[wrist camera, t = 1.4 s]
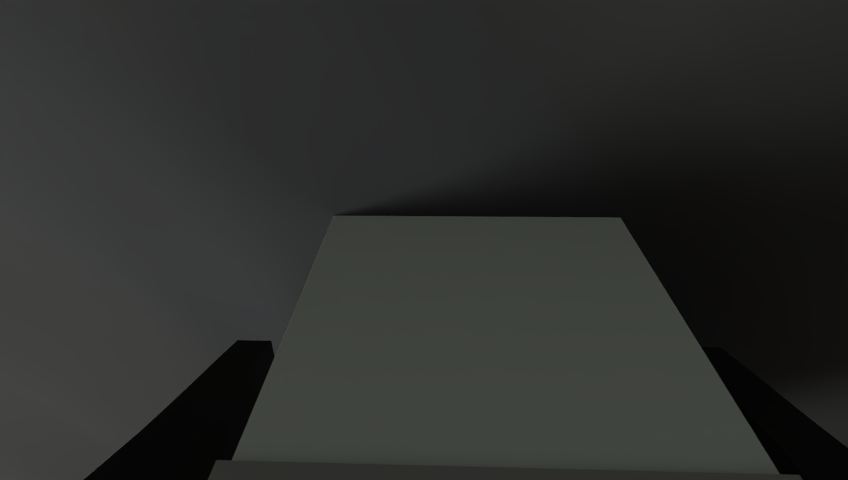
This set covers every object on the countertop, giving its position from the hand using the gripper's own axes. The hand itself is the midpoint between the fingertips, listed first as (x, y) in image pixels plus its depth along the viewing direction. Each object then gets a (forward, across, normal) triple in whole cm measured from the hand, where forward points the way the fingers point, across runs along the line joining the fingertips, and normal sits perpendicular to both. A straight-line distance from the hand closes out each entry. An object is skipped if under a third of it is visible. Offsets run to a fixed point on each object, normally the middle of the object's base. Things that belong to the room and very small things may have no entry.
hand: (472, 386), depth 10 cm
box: (+2, 0, 0) cm, 2 cm away
